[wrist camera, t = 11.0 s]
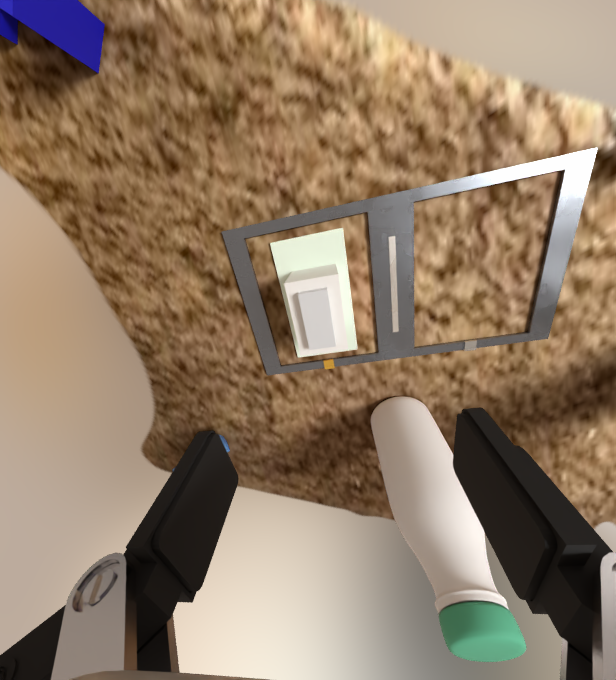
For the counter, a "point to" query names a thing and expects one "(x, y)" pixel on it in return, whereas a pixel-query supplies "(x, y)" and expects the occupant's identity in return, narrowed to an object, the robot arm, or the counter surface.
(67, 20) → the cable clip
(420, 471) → the milk bottle
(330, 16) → the counter surface
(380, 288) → the two-window grey frame
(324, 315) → the plug
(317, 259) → the port pad
